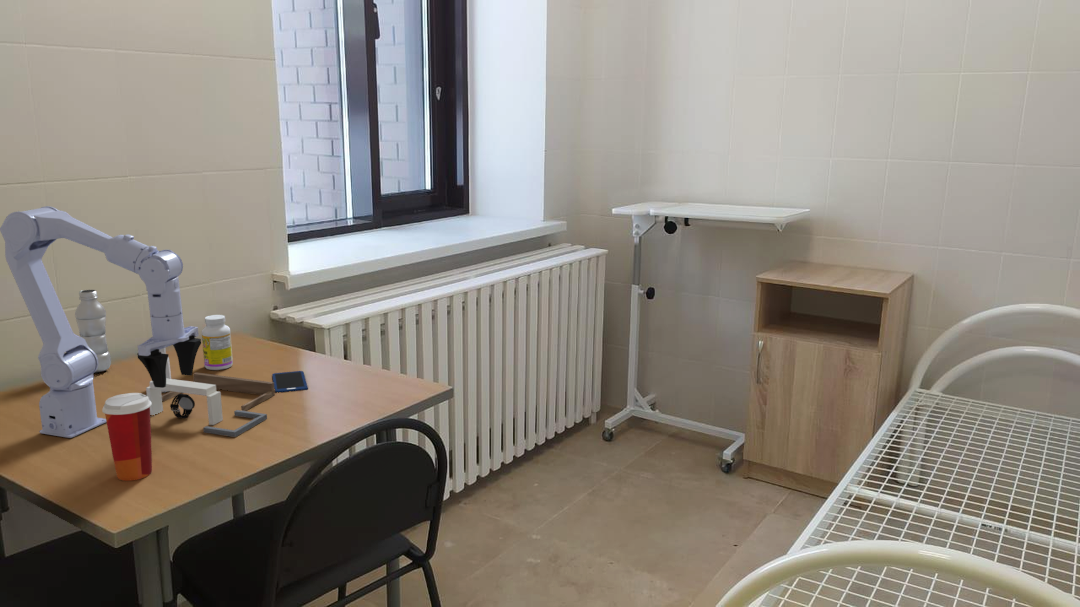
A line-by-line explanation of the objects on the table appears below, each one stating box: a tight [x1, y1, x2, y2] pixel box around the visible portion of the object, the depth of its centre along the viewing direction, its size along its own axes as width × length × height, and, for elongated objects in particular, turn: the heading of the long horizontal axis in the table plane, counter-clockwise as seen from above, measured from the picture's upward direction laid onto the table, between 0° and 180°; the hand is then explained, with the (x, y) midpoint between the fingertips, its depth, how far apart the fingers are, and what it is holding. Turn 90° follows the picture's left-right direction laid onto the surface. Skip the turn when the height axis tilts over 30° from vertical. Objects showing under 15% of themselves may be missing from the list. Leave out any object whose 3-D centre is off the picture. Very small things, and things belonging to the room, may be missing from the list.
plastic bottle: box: [74, 289, 112, 373], centre depth 197 cm, size 6×7×20 cm
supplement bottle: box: [201, 314, 234, 371], centre depth 203 cm, size 7×7×13 cm
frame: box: [202, 409, 268, 438], centre depth 167 cm, size 10×7×1 cm
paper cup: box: [101, 392, 153, 482], centre depth 143 cm, size 8×8×14 cm
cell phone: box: [271, 370, 309, 394], centre depth 194 cm, size 7×14×1 cm, turn 20°
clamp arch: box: [145, 378, 224, 426], centre depth 170 cm, size 3×16×8 cm, turn 73°
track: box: [162, 372, 276, 411], centre depth 178 cm, size 21×21×3 cm
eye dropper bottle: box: [159, 347, 172, 393], centre depth 186 cm, size 4×6×12 cm
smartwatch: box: [169, 393, 196, 419], centre depth 170 cm, size 4×5×5 cm
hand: (173, 380), depth 162 cm, fingers open, 7 cm apart
